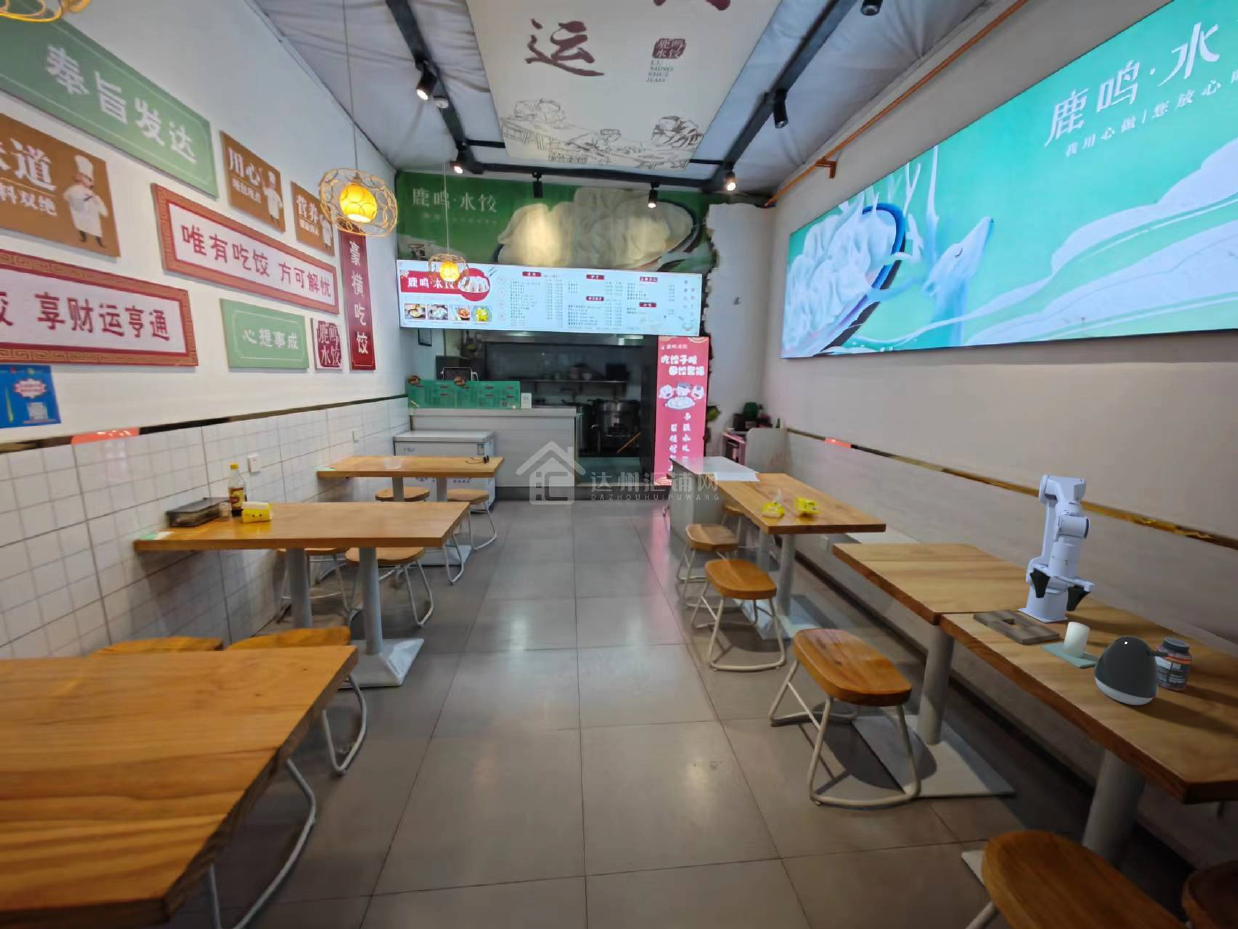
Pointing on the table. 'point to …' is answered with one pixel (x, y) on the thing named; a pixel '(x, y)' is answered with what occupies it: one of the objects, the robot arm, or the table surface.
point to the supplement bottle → (1174, 664)
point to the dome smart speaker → (1129, 671)
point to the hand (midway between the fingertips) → (1054, 603)
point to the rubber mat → (1079, 662)
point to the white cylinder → (1075, 639)
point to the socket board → (1029, 629)
